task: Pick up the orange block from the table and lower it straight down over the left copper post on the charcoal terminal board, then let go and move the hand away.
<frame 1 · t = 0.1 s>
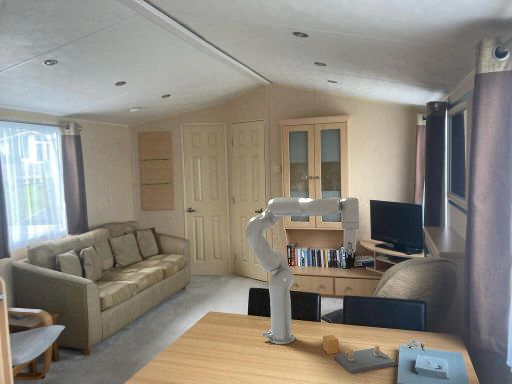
hand: (351, 264, 180), 37 cm above the table, tool pointing down, fingers open, 9 cm apart
adjustable wrench: (421, 355, 172), on the table
terminal board: (364, 361, 167), on the table
orange block: (330, 350, 178), on the table
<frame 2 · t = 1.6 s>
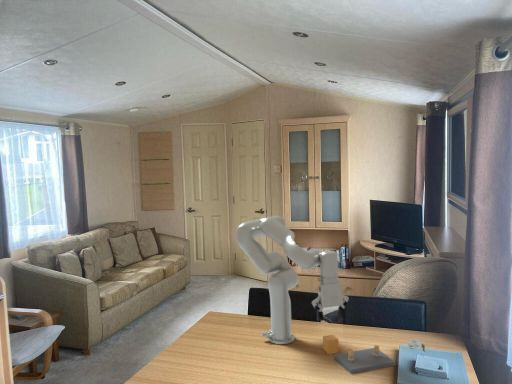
hand: (331, 318, 177), 14 cm above the table, tool pointing down, fingers open, 9 cm apart
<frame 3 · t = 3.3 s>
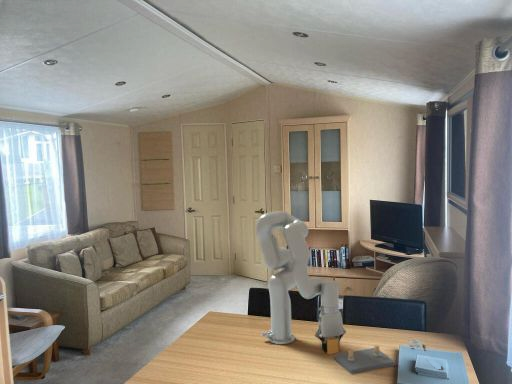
hand: (330, 349, 178), 0 cm above the table, tool pointing down, fingers closed on orange block, 4 cm apart
orange block: (330, 350, 178), on the table, touching gripper
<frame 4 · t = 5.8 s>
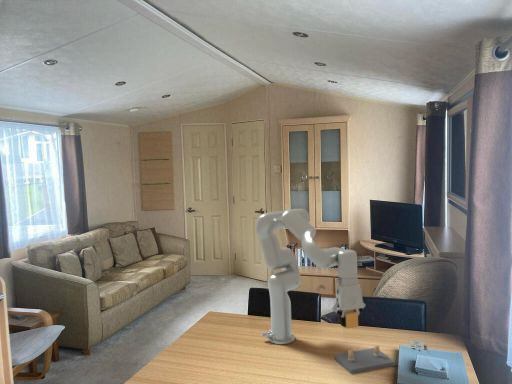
hand: (349, 324, 165), 16 cm above the table, tool pointing down, fingers closed on orange block, 4 cm apart
orange block: (349, 325, 165), point 16 cm above the table, touching gripper
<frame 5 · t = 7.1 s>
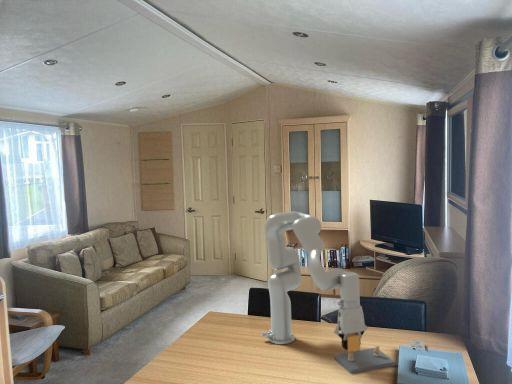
hand: (351, 347, 165), 7 cm above the table, tool pointing down, fingers closed on orange block, 4 cm apart
orange block: (351, 348, 165), point 7 cm above the table, touching gripper
when the fingers open (3 cm above the table, at t = 8.1 s): orange block drops 1 cm, resting on terminal board.
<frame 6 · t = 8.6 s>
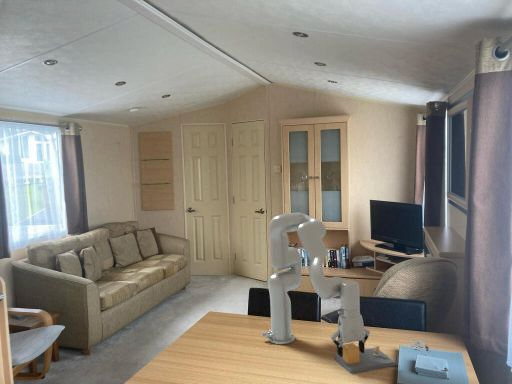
hand: (350, 353, 165), 4 cm above the table, tool pointing down, fingers open, 9 cm apart
orange block: (350, 360, 165), point 1 cm above the table, touching terminal board
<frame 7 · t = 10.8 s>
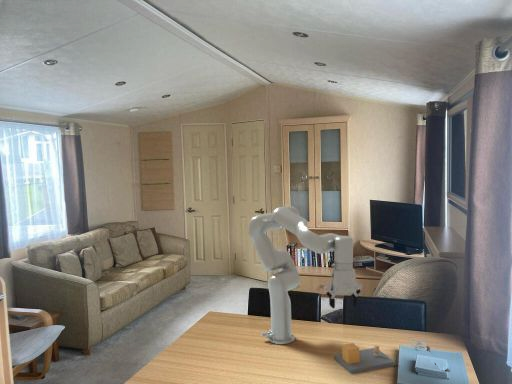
hand: (342, 306, 170), 22 cm above the table, tool pointing down, fingers open, 9 cm apart
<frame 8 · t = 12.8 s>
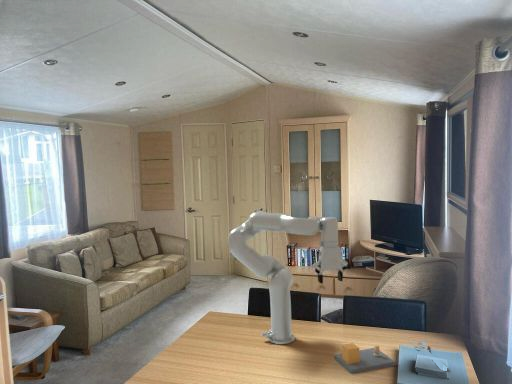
hand: (330, 281, 185), 28 cm above the table, tool pointing down, fingers open, 9 cm apart
at the end: orange block 0.1 cm from the target spot on the terminal board, point 1.5 cm above the terminal board's base; orange block tilted 0°; the gripper is holding nothing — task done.
